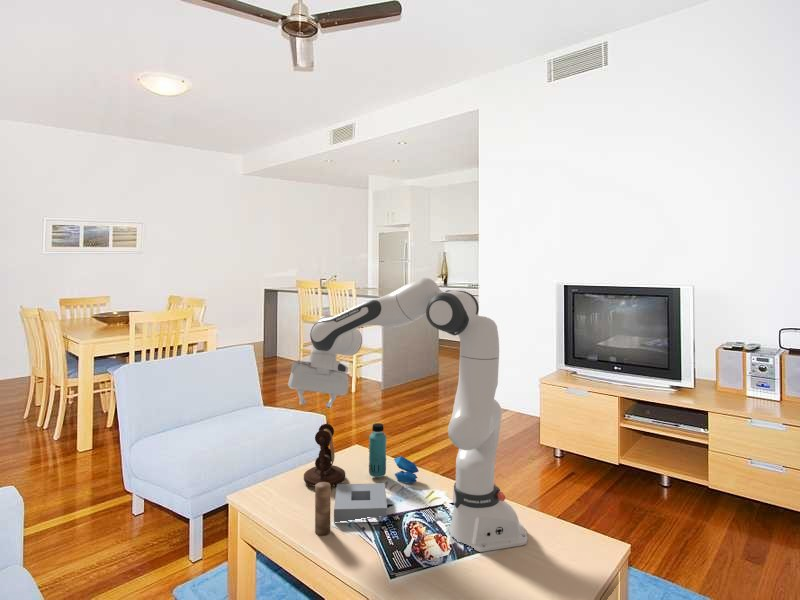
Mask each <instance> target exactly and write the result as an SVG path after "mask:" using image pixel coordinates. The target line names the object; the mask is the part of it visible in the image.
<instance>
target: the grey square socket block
mask: <svg viewBox="0 0 800 600" xmlns="http://www.w3.org/2000/svg"><path fill="white" fill-rule="evenodd" d="M333 505H334V506H333V524H334V523H335V522H340V521H348V520H355V519H361V518H367V517H379V516H387V517H388V503H387V494H386V483H384V482H382V483H376V482H375V483H374V482H373V483H342V484H341V483H339V484H337V487H336V488H335V498H334V504H333Z"/></svg>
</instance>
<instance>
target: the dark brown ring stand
mask: <svg viewBox="0 0 800 600" xmlns="http://www.w3.org/2000/svg"><path fill="white" fill-rule="evenodd" d="M334 434H335V430H334V426H332V425H331V424H329V423H323V424H321V425H320V426H319V428H318V431H317V432H316V433H315V436H314V439H315V443H316V444H317V445H318V446H320V447H319V453H318V457H317V458H316V459H315V461H314V466H313V467H311V468H309V469H308V470H306V471H305V472H304V474H303V480H304V482H305V484H307V487H308V488H309V487H311V486H312V487H315V485H316V484H317V483H319V482H328V483H330V485H331V487H332V486H334V488H335V489H336V488H337V484H341V483H342V482H343V481H344V480H345V479H346V471H345V470H344V469H343V468H341V467H339V466H337V465H334V461H335V458H336V457H335V449H334V448H335V447H334V442H333V441H334V440H333V436H334ZM329 447H330V448H329Z"/></svg>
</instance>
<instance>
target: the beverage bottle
mask: <svg viewBox="0 0 800 600" xmlns="http://www.w3.org/2000/svg"><path fill="white" fill-rule="evenodd" d="M371 430H372V433H371V434H370V435H369V437H368V438H369V442H368V444H369V445H368V452H369V453H368V460H369V461H368V473H369V476H371V477H374V478H380V477H381V478H382V477H383V476H385V475H386V474H387V435H386V434H385V432H383V431H384V430H385V429H384V424H383V423H378V422H377V423H376V422H375V423H373V424H372V429H371Z"/></svg>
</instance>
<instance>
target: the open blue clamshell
mask: <svg viewBox="0 0 800 600" xmlns="http://www.w3.org/2000/svg"><path fill="white" fill-rule="evenodd" d="M393 460H394V462H395V464H396V466H397V467H398V468H399V469H400V471H399V472H398V471H397V472H396V473H394V477H395V478H396V479H397V481H398V482H402V483H406V484H413V483H416V482H417V479H418V477H417V475H416V473H419V472H420V471H419V468H418V467H417V465H416V464H415V463H414V462H412V460H411V461H410V460H409V459H407V458H406V457H404V456H399V457H395V458H393Z"/></svg>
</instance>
